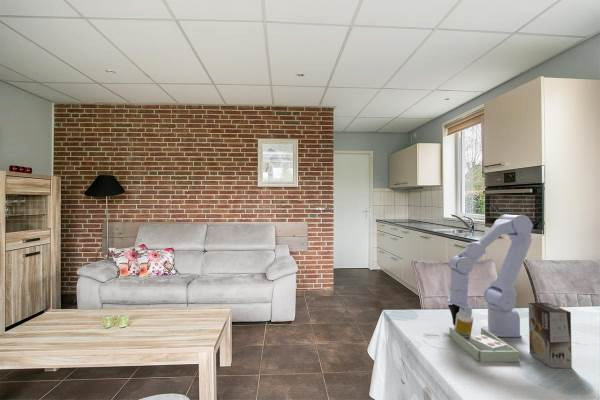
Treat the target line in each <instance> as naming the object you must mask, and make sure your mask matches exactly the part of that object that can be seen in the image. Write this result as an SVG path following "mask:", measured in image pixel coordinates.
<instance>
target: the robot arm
mask: <svg viewBox="0 0 600 400" xmlns="http://www.w3.org/2000/svg"><path fill="white" fill-rule="evenodd" d="M533 227H534V224H533V222H532V221H531V219H530V217H528V216H527V215H525V214H519V215H518V214H507V213H505V214H502V215H500V216H499V217H498V218H497V219H496V220H495V221H494V223H493V224H492V226H491V227H490V228H489V229H488V230H487V231H486V232H485V233H484V234H483V235H482V236H481V237H479V239H478V240H477V241H471V242H467V244H466V247H465V248H463V250H462V251H461V252H458V253H457V255H454V256H452V257H451V258H450V260H449V261H448V267H449V269H450V286H449V288H450V289H449V294H446V297H445V298H446V299H445V300H446V302H447V303H448V305H447V306H448V308H449V311H450V314H451V317H452V325H453V326H454V327H455V321H456V314H457V313H458V312H459V309H460V307H462V308H464V310H465V313H472V314H473V308H472V306H470V304H469V303H468V293H469V291H468V290H469V273H471V272H472V271H473V268H474V265H475V263H476V262H478V261H479V260H480V259H481V258H482V257H483V256H484V255H485V254H486V252H487V251H486V250H487V249H486V248H487V247H490V245H491V244H492V243H494V242H495V241H496V240H497V239H499V237H502V236H503V235H507V236H508V237H509V240H511V243H510V246H509V248H508V251H507V252H506V256H505V257H504V261H503V262H502V266H501V268H500V270H499V273H498V275H497V277H496V279H495V280H493V281H492V282H491V283H490V284H489V286H488V288H486V289H484V292H483V298H484V300H485V302H487V303H486V304H487V326H483V327H482V328H484V329H485V330H487V331H488V332H490V333H491V334H493V335H494V336H496V337H498V338H499V337H500V338H503V337H504V338H521V337H522V335H521V317H520V314H519V312H518V311H517V310H516V309H515V307H516V305H517V301H516V299H517V295H518V294H517V291H516V289H515V287H514V286H515V283H516V281H517V278H518V277H519V274H520V273H521V272H520V271H521V269H522V266H523V264H524V261H525V259H526V257H527V254H528V251H529V249H530V246H531V243H532V230H533Z"/></svg>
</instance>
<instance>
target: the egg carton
mask: <svg viewBox="0 0 600 400" xmlns="http://www.w3.org/2000/svg"><path fill="white" fill-rule="evenodd" d="M469 342H470V343H471V344H472V345H474V346H475V347H476V348H477V349H479V350H480V351H507V345H506V344H504V343H501V342H499V341H497V340H494V339H492V338H489V337H487V336H485V335H481V334H479V335H475V336H469Z"/></svg>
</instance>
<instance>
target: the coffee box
mask: <svg viewBox="0 0 600 400" xmlns="http://www.w3.org/2000/svg"><path fill="white" fill-rule="evenodd" d="M571 314H572V313H571V311H570V310H566V309H563V308H561V307H559V306H557V305H553V304H552V303H548V302H528V334H529V335H528V336H529V337H528V340H529V354H530V355H532V356H534V358H536V359H537V360H539V361H541V362H542V363H544V364H545V365H546V366H549V367H550V368H552V369H553V368H556V369H557V368H559V369H560V368H561V369H572V368H573V364H572V361H573V360H572V359H573V358H572V357H573V356H572V355H573V354H572V319H571V318H572V316H571Z"/></svg>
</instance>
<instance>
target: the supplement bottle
mask: <svg viewBox="0 0 600 400" xmlns="http://www.w3.org/2000/svg"><path fill="white" fill-rule="evenodd" d="M472 314H473V312H472V313H465V310H464V308H462V307H460V309H459V312H458V313H457V314H456V321H455V326H454V328H453V330H455V331H456V332H457V333H458V334H460V335H461V336H462V337H463V338H470V337H471V335H472V329H473V324H474V317H473V315H472Z"/></svg>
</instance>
